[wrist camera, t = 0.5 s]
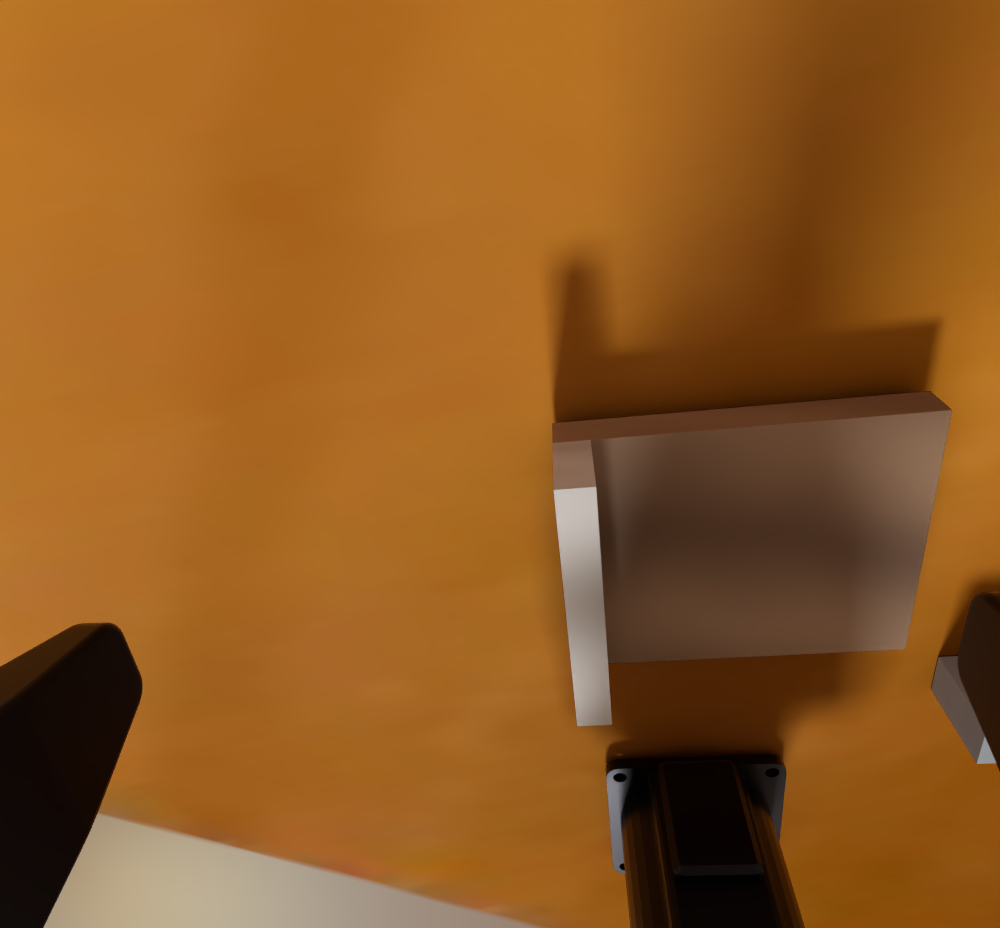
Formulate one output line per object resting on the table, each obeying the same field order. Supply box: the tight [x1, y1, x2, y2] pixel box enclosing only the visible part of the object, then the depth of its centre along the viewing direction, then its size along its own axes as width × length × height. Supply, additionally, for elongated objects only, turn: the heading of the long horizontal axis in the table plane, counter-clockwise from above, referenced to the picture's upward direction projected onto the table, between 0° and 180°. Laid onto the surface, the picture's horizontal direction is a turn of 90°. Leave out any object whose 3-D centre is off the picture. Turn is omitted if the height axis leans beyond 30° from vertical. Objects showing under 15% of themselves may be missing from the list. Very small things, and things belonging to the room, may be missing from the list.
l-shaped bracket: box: [552, 391, 952, 726], centre depth 20 cm, size 8×10×4 cm
